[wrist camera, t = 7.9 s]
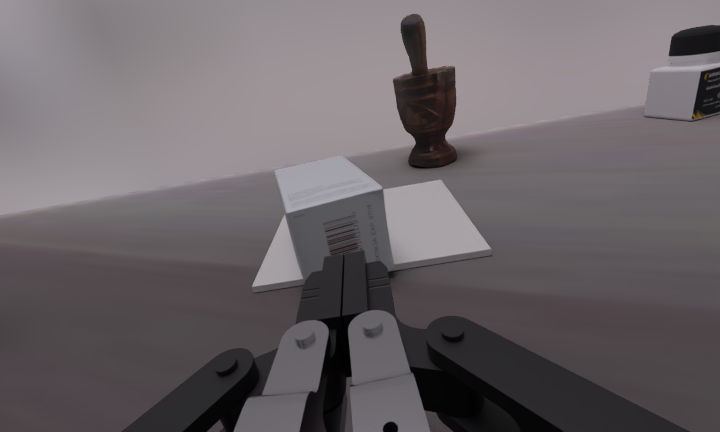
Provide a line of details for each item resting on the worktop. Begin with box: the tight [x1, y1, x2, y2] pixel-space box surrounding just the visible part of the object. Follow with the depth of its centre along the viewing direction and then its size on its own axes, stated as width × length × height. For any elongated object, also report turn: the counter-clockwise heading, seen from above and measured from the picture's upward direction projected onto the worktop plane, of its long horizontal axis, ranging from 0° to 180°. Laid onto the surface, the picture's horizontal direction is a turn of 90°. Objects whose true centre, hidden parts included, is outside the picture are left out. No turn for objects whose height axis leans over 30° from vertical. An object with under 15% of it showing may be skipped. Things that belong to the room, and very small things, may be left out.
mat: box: [252, 180, 491, 293], centre depth 37 cm, size 20×18×1 cm
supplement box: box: [274, 155, 395, 283], centre depth 31 cm, size 7×7×13 cm
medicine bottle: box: [644, 25, 720, 121], centre depth 51 cm, size 7×7×12 cm
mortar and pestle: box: [393, 14, 457, 167], centre depth 49 cm, size 12×9×20 cm
